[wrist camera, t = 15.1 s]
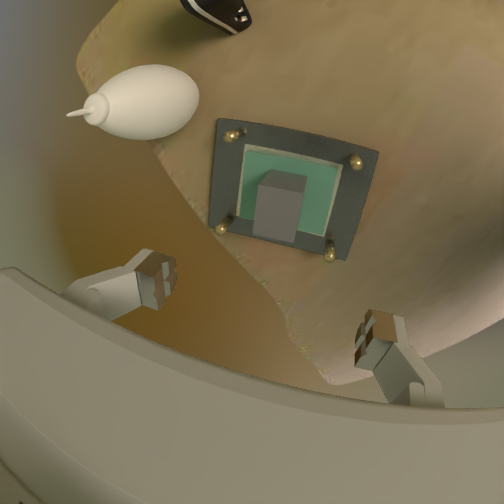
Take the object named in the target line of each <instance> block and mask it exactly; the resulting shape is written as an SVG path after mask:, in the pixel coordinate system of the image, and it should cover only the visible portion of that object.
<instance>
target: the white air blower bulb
mask: <svg viewBox="0 0 504 504" xmlns="http://www.w3.org/2000/svg"><path fill="white" fill-rule="evenodd" d="M198 103H199V90H198V87H197V85H196V84H195V82H194V81H193V79H191V78H190V77H189V76H188V75H187V74H186V73H184V72H182V71H181V70H179V69H176V68H173V67H170V66H165V65H157V64H152V65H142V66H137V67H134V68H131V69H128V70H126V71H123V72H121V73H119V74H117V75H115V76H114V77H112V78H111V79H109V80H108V81H107V82H106V83H104V84H103V85H102V86H101V87H100V88H99V89H98V91H97V92H96V93H94V94H92V95H90V96H89V97H88V98H87V100H86V101H85V104H84V107H83V109H81V110H77V111H74V112H71V113H69V114H67V115H66V116H69V117H71V116H79V115H83V116H84V119H85V120H86V122H88V123H89V124H90V125H94V126H95V125H96V126H98V127H99V128H101V129H102V130H104V131H106V132H108V133H110V134H112V135H115V136H118V137H122V138H126V139H133V140H152V139H157V138H162V137H165V136H168V135H170V134H172V133H174V132H176V131H178V130H179V129H181V128H182V127H183V126H185V125H186V124H187V123H188V122H189V120H190V119H191V118H192V116H193V115H194V113H195V111H196V109H197V107H198Z"/></svg>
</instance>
